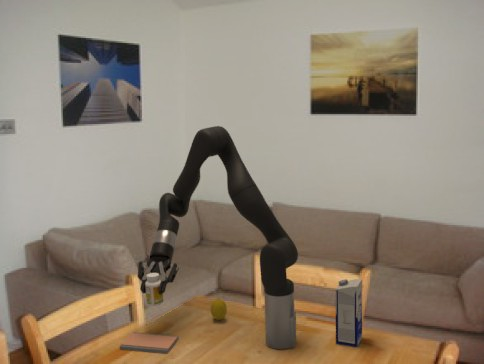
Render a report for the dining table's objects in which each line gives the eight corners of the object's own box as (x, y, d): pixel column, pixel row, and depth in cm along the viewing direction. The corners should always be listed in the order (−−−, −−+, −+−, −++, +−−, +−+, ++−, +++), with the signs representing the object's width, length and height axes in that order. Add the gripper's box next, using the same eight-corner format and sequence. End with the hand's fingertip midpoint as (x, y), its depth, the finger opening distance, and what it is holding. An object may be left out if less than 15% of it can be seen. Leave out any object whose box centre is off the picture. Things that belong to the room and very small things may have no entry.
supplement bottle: (165, 299, 183) (163, 271, 181) (161, 306, 178) (158, 277, 176) (149, 299, 183) (147, 271, 182) (144, 306, 178) (142, 277, 176)
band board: (178, 338, 180) (178, 335, 180) (167, 353, 170) (167, 350, 170) (133, 335, 184) (133, 331, 184) (119, 349, 174) (119, 345, 174)
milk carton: (357, 347, 169) (357, 285, 166) (335, 344, 172) (335, 283, 169) (362, 337, 176) (362, 278, 172) (341, 334, 179) (341, 275, 175)
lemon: (209, 318, 195) (208, 296, 193) (224, 315, 196) (223, 294, 195) (213, 324, 189) (212, 302, 188) (229, 322, 191) (228, 300, 190)
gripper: (140, 240, 186) (127, 287, 177) (180, 241, 182) (168, 289, 173) (148, 250, 192) (135, 296, 183) (186, 252, 188) (176, 298, 179)
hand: (151, 292), depth 178 cm, fingers closed on supplement bottle, 5 cm apart
